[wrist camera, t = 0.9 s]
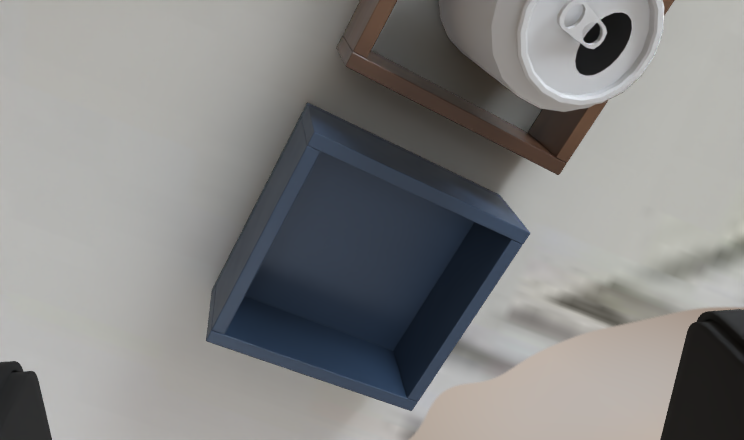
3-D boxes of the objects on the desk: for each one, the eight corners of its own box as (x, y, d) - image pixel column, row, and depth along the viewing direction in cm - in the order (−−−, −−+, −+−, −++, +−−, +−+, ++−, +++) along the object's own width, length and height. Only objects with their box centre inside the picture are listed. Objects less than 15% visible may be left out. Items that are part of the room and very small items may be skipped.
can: (504, 87, 41) (593, 155, 30) (407, 9, 38) (465, 54, 27) (591, -21, 39) (718, 11, 28) (495, -111, 36) (595, -113, 25)
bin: (307, 101, 39) (314, 131, 34) (500, 195, 44) (530, 233, 39) (211, 291, 44) (205, 341, 39) (396, 358, 48) (411, 411, 43)
